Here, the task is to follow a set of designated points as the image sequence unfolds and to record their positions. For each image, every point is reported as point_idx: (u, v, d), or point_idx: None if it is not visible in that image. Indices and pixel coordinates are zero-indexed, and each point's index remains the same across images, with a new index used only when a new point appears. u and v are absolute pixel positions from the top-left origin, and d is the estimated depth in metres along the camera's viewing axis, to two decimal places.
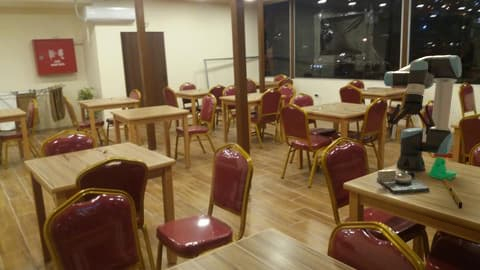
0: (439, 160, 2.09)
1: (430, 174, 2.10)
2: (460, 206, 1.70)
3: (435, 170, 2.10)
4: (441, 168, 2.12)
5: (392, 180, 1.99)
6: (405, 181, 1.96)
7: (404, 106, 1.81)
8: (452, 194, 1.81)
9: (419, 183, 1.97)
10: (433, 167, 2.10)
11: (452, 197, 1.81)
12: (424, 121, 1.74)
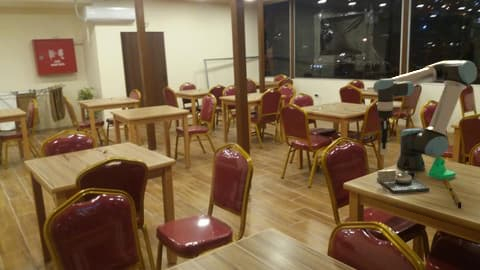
0: (438, 160, 2.09)
1: (429, 174, 2.10)
2: (459, 206, 1.70)
3: (434, 169, 2.10)
4: (440, 168, 2.12)
5: (392, 180, 1.99)
6: (405, 181, 1.96)
7: None
8: (452, 194, 1.81)
9: (419, 183, 1.97)
10: (433, 166, 2.10)
11: (452, 197, 1.81)
12: None
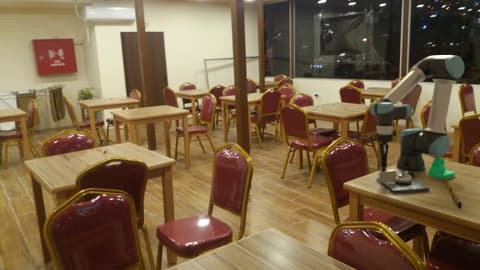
0: (438, 160, 2.09)
1: (429, 174, 2.10)
2: (459, 206, 1.70)
3: (434, 169, 2.10)
4: (440, 168, 2.12)
5: (393, 180, 1.98)
6: (406, 181, 1.96)
7: None
8: (452, 194, 1.81)
9: (419, 183, 1.97)
10: (432, 166, 2.10)
11: (452, 197, 1.81)
12: (381, 160, 1.99)
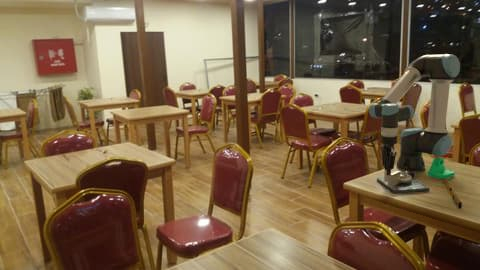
0: (437, 160, 2.09)
1: (428, 173, 2.11)
2: (460, 206, 1.70)
3: (433, 169, 2.10)
4: (440, 168, 2.12)
5: (398, 182, 1.96)
6: (409, 180, 1.97)
7: (383, 146, 1.96)
8: (452, 194, 1.81)
9: (419, 183, 1.97)
10: (432, 166, 2.11)
11: (452, 197, 1.81)
12: (386, 163, 1.93)
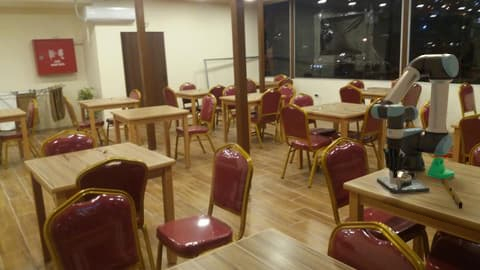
0: (437, 160, 2.10)
1: (428, 173, 2.11)
2: (460, 206, 1.70)
3: (433, 169, 2.11)
4: (439, 168, 2.13)
5: (402, 182, 1.95)
6: (411, 180, 1.97)
7: (387, 147, 1.93)
8: (452, 194, 1.81)
9: (419, 183, 1.97)
10: (431, 166, 2.11)
11: (452, 197, 1.81)
12: (393, 165, 1.90)
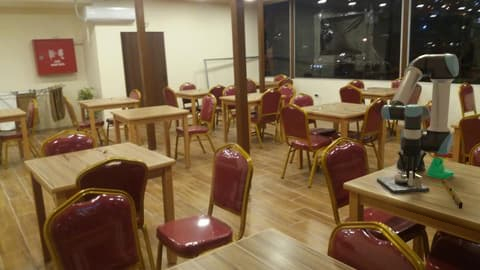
0: (437, 159, 2.10)
1: (428, 173, 2.11)
2: (460, 206, 1.70)
3: (433, 169, 2.11)
4: (439, 167, 2.13)
5: None
6: None
7: (404, 150, 1.86)
8: (452, 194, 1.81)
9: None
10: (431, 166, 2.11)
11: (452, 197, 1.81)
12: (414, 166, 1.87)
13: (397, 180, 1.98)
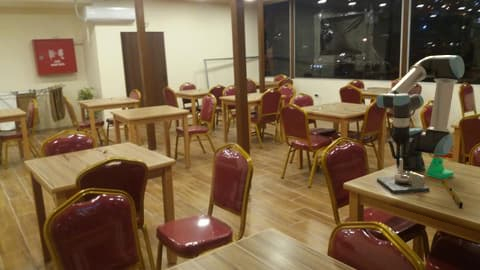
0: (436, 159, 2.10)
1: (427, 173, 2.11)
2: (460, 206, 1.70)
3: (432, 169, 2.11)
4: (438, 167, 2.13)
5: None
6: None
7: (394, 138, 1.91)
8: (452, 194, 1.81)
9: None
10: (430, 166, 2.11)
11: (452, 197, 1.81)
12: (404, 153, 1.92)
13: (398, 180, 1.98)
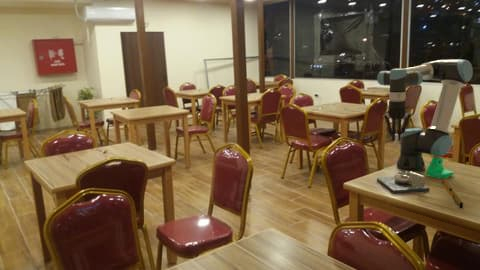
0: (436, 159, 2.10)
1: (427, 173, 2.12)
2: (461, 206, 1.70)
3: (432, 169, 2.12)
4: (438, 167, 2.13)
5: None
6: None
7: (390, 113, 1.93)
8: (452, 194, 1.81)
9: None
10: (430, 166, 2.12)
11: (452, 197, 1.81)
12: (399, 128, 1.94)
13: (398, 180, 1.98)
